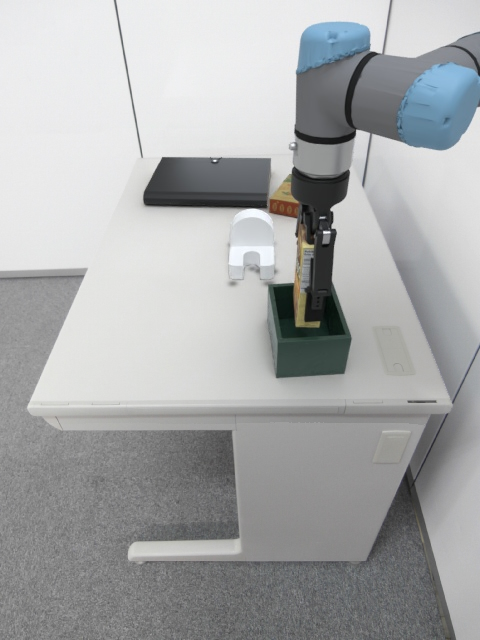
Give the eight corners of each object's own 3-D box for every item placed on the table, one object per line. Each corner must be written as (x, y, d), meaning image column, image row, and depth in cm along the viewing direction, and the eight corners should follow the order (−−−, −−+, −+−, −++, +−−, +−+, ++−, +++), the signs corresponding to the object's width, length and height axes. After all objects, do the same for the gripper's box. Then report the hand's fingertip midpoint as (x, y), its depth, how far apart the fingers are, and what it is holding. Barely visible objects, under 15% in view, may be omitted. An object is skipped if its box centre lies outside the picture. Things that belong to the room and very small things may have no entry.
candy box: (292, 293, 77) (297, 215, 67) (316, 293, 77) (325, 214, 66) (295, 328, 70) (301, 247, 60) (321, 328, 70) (332, 247, 60)
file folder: (271, 156, 130) (267, 196, 113) (270, 169, 133) (266, 210, 116) (162, 155, 133) (141, 194, 116) (164, 168, 136) (144, 208, 119)
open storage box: (344, 373, 74) (352, 337, 68) (276, 378, 74) (277, 342, 68) (327, 315, 85) (332, 280, 79) (267, 319, 85) (267, 284, 79)
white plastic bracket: (272, 234, 107) (273, 192, 99) (274, 279, 94) (275, 235, 86) (233, 234, 107) (231, 193, 100) (229, 279, 94) (226, 236, 87)
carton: (268, 213, 114) (268, 197, 111) (288, 186, 125) (288, 172, 122) (299, 218, 112) (299, 203, 109) (316, 191, 122) (318, 176, 119)
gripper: (281, 136, 65) (277, 262, 80) (306, 210, 49) (294, 349, 64) (332, 134, 65) (317, 260, 80) (373, 206, 49) (345, 346, 64)
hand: (307, 299), depth 72 cm, fingers closed on candy box, 9 cm apart
